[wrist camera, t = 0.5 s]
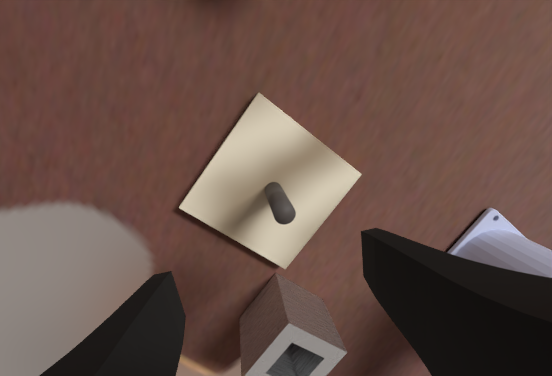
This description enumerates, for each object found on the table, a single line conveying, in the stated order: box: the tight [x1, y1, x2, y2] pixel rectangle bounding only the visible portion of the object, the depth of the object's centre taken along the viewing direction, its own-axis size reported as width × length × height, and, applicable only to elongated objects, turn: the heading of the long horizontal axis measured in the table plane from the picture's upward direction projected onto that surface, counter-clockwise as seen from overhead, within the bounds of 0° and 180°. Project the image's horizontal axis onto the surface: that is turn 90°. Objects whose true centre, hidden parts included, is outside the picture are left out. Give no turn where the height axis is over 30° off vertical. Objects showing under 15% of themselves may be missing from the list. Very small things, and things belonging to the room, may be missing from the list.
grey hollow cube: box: [239, 273, 347, 376], centre depth 20 cm, size 5×5×5 cm
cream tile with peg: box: [179, 93, 362, 269], centre depth 17 cm, size 9×9×5 cm
